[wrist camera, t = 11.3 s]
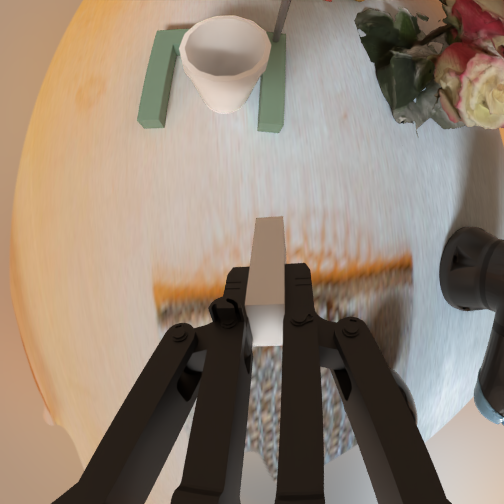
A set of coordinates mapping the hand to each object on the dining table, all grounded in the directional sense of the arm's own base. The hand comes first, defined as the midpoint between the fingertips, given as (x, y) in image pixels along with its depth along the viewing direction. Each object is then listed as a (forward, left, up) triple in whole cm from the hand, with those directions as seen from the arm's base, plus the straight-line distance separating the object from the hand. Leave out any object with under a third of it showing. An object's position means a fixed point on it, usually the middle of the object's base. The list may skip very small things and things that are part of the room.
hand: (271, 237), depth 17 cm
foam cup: (-6, -19, -22) cm, 30 cm away
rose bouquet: (-43, -12, -22) cm, 50 cm away
